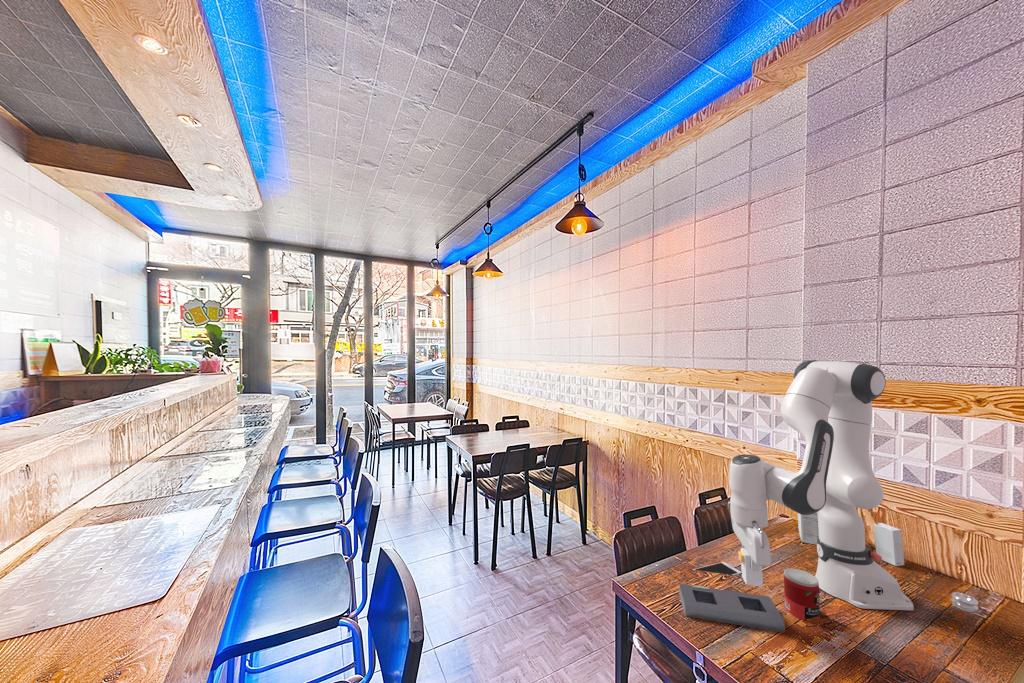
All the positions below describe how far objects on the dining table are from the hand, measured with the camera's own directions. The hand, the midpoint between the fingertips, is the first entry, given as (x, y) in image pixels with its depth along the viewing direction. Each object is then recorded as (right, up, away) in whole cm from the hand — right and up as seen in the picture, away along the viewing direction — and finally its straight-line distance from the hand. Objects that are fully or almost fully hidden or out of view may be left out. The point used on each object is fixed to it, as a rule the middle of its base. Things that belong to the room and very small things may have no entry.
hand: (751, 564), depth 105 cm
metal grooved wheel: (+64, -15, +4) cm, 66 cm away
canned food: (+15, -15, 0) cm, 21 cm away
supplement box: (+55, -16, +43) cm, 72 cm away
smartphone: (+2, -16, +22) cm, 27 cm away
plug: (0, -5, 0) cm, 5 cm away
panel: (-6, -15, +1) cm, 16 cm away
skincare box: (+67, -16, +28) cm, 74 cm away
